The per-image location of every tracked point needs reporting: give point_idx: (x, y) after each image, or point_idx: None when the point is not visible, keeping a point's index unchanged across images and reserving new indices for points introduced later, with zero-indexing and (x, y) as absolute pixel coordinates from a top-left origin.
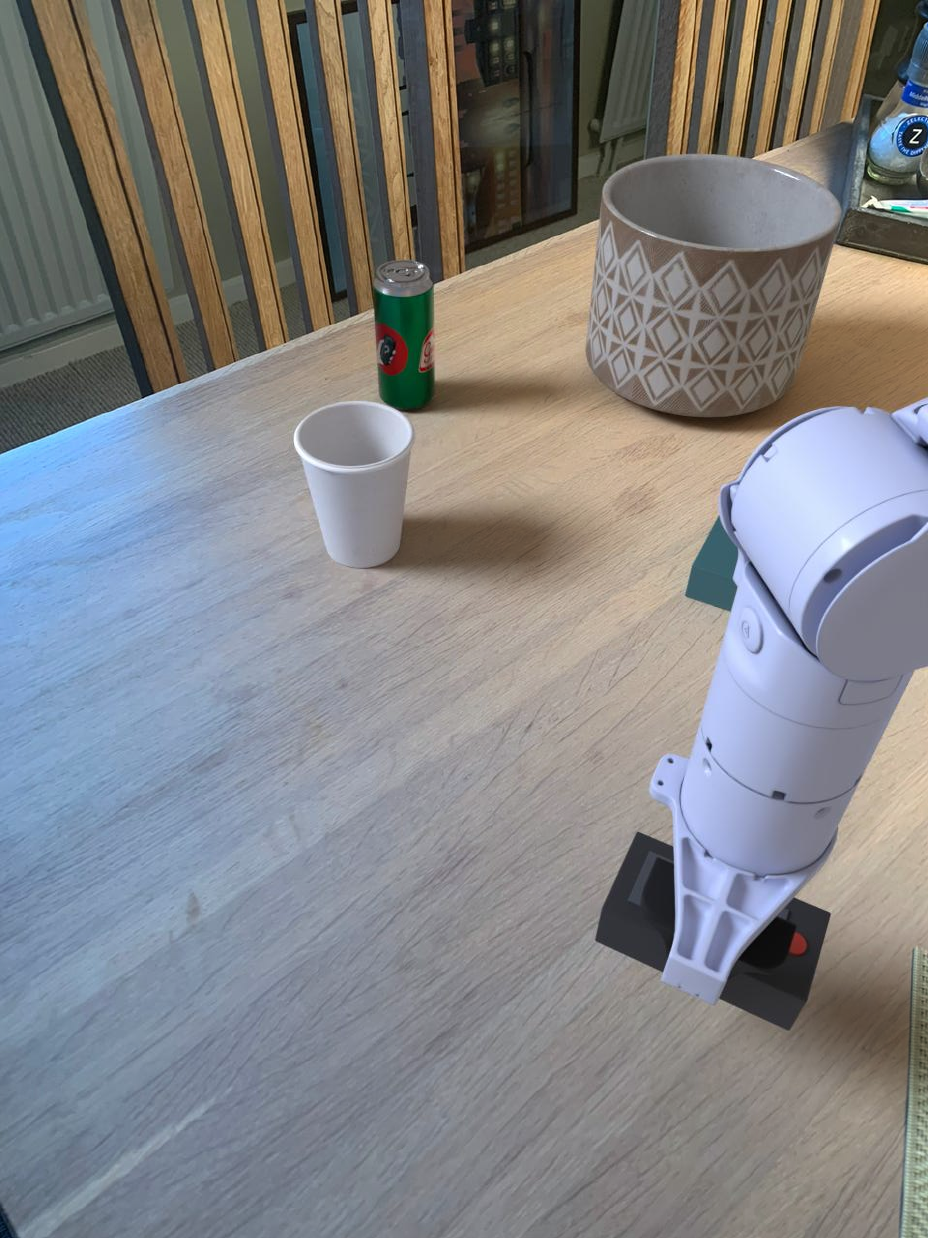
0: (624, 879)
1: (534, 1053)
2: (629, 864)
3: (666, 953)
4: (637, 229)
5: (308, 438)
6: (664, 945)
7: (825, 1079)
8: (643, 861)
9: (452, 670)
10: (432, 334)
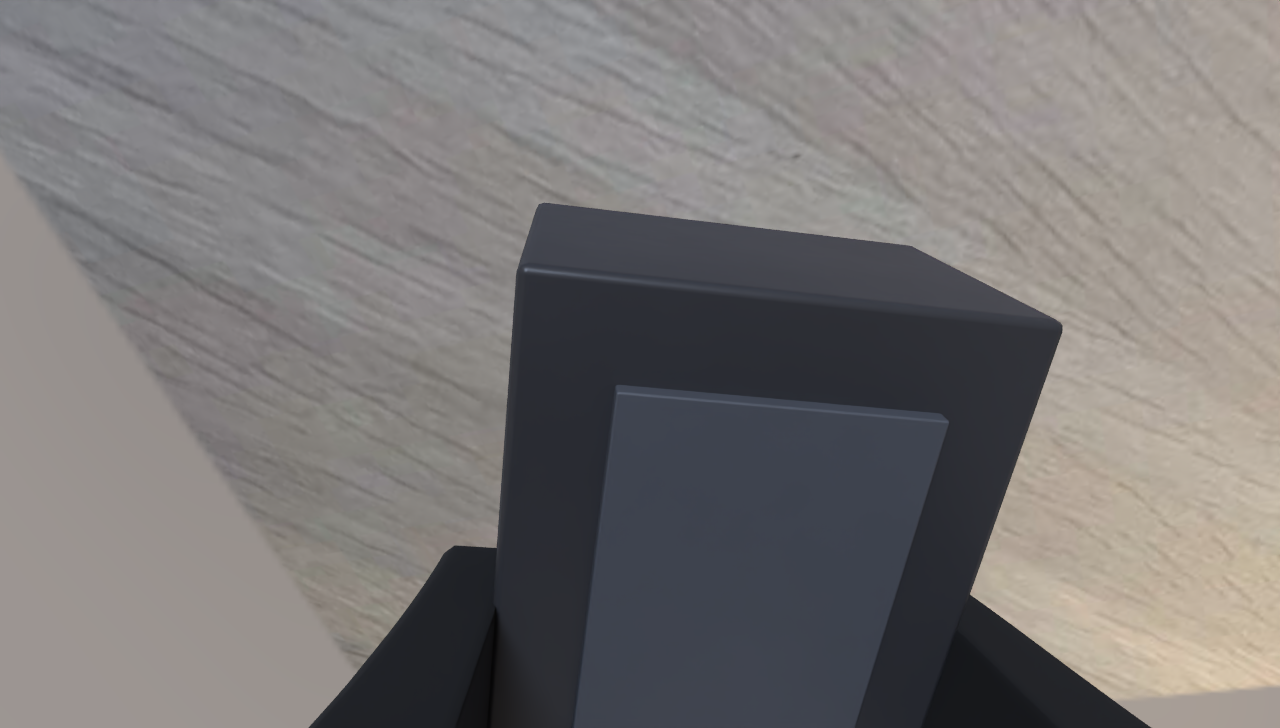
0: (743, 336)
1: (389, 65)
2: (846, 335)
3: (396, 626)
4: None
5: None
6: (363, 673)
7: None
8: (882, 398)
9: None
10: None
